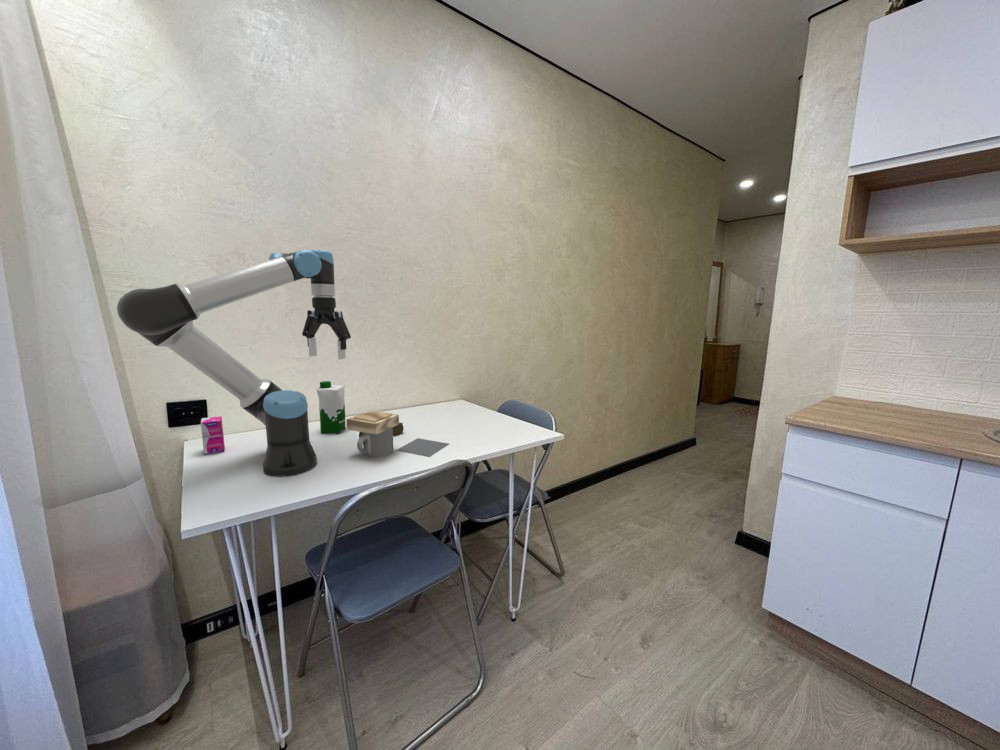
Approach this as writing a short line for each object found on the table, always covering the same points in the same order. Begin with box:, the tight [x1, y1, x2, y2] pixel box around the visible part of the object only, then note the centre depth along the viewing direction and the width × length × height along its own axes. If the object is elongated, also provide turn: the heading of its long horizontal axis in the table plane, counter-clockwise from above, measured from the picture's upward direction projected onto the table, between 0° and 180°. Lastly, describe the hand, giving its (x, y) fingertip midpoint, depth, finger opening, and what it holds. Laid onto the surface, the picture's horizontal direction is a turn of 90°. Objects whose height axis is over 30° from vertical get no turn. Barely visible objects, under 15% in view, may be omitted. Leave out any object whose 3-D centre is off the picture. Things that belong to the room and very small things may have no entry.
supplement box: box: [200, 416, 226, 456], centre depth 136 cm, size 6×6×12 cm
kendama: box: [358, 422, 404, 438], centre depth 155 cm, size 6×10×20 cm
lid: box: [345, 410, 400, 435], centre depth 135 cm, size 12×12×4 cm
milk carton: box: [316, 380, 347, 435], centre depth 158 cm, size 9×9×20 cm
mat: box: [395, 437, 450, 458], centre depth 143 cm, size 14×14×1 cm
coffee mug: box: [356, 427, 394, 458], centre depth 136 cm, size 13×10×10 cm
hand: (327, 357), depth 142 cm, fingers open, 13 cm apart
